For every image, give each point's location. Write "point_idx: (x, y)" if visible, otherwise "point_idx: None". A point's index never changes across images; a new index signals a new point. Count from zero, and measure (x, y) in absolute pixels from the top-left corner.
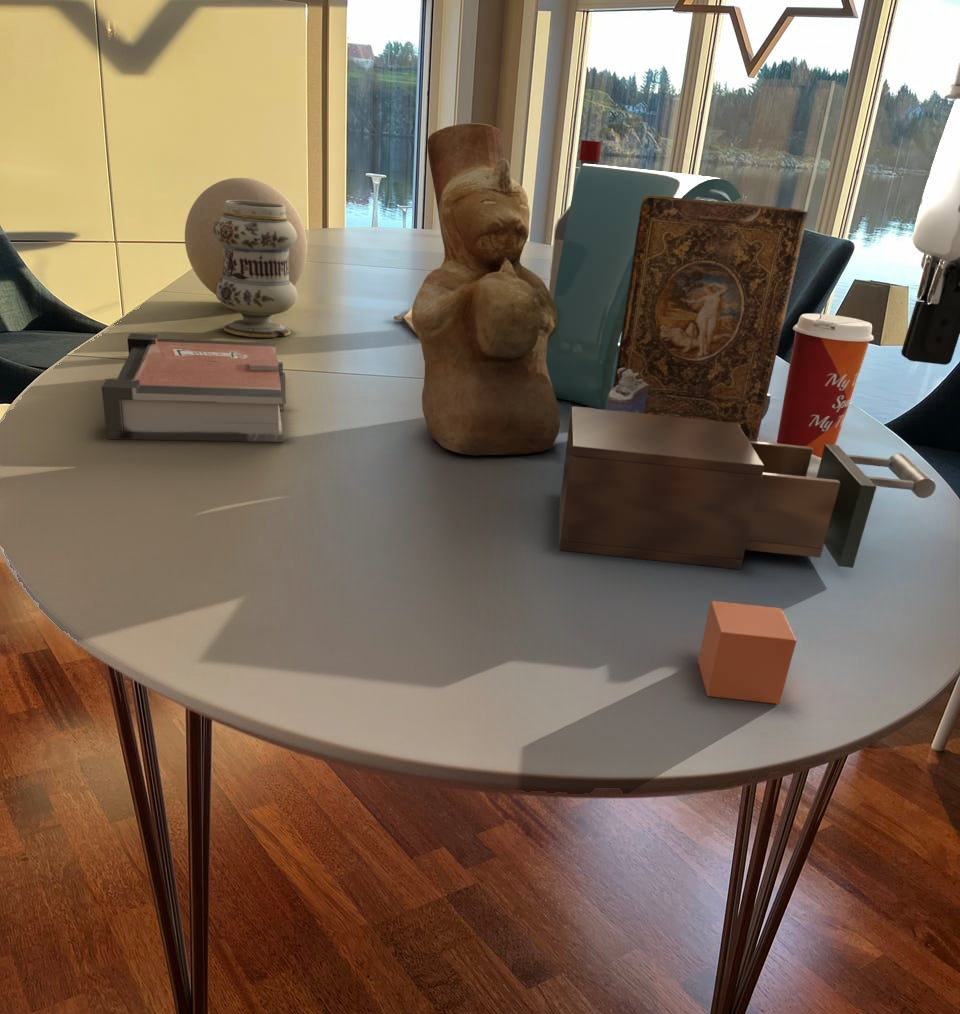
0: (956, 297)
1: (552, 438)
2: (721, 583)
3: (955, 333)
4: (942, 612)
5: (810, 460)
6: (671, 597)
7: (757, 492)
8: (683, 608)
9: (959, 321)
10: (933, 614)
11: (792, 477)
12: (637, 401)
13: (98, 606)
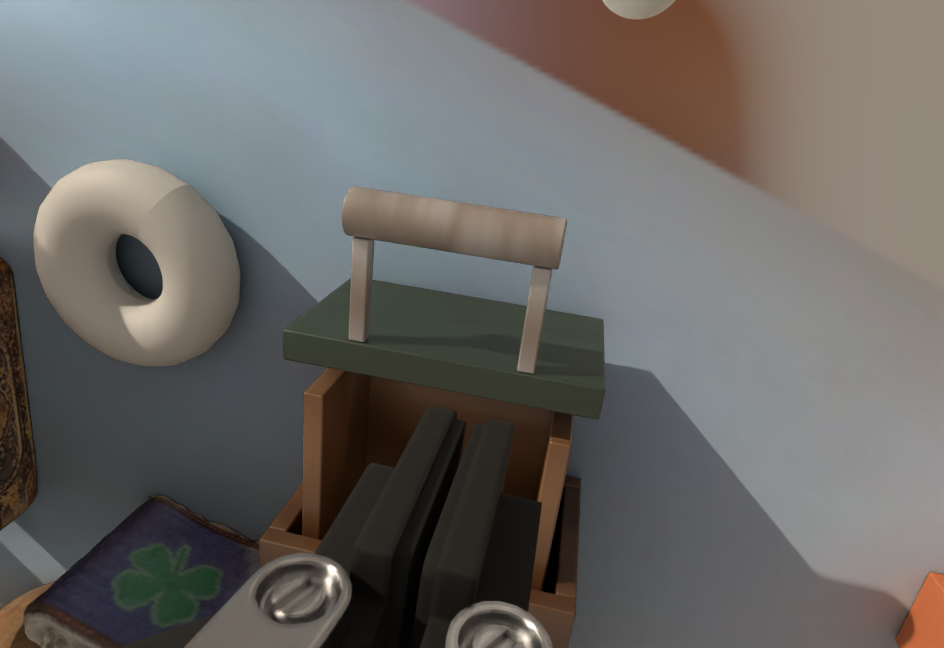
0: None
1: None
2: (636, 523)
3: (495, 508)
4: (749, 199)
5: (95, 222)
6: (689, 603)
7: (576, 574)
8: (726, 600)
9: (486, 546)
10: (758, 223)
11: (550, 529)
12: (111, 623)
13: None
